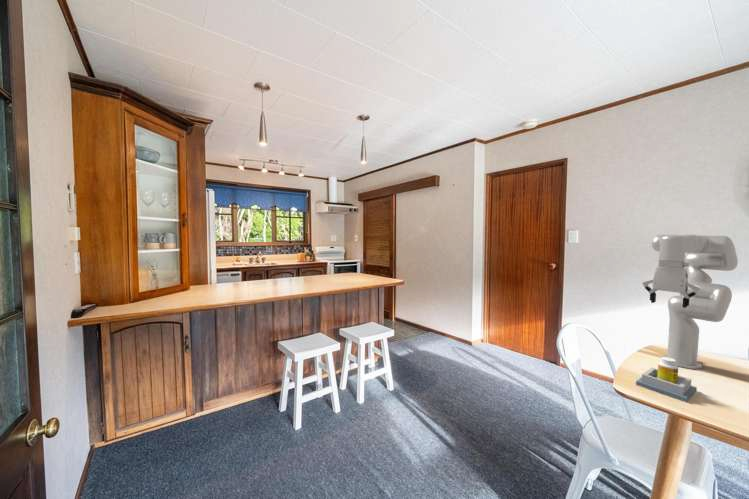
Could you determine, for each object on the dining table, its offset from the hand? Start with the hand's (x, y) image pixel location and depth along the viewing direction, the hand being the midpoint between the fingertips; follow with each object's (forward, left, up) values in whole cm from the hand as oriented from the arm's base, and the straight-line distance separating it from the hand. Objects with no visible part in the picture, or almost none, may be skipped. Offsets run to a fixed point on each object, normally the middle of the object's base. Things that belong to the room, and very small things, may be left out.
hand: (668, 304), depth 123 cm
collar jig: (+15, +4, -30) cm, 34 cm away
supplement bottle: (+15, +4, -29) cm, 33 cm away
